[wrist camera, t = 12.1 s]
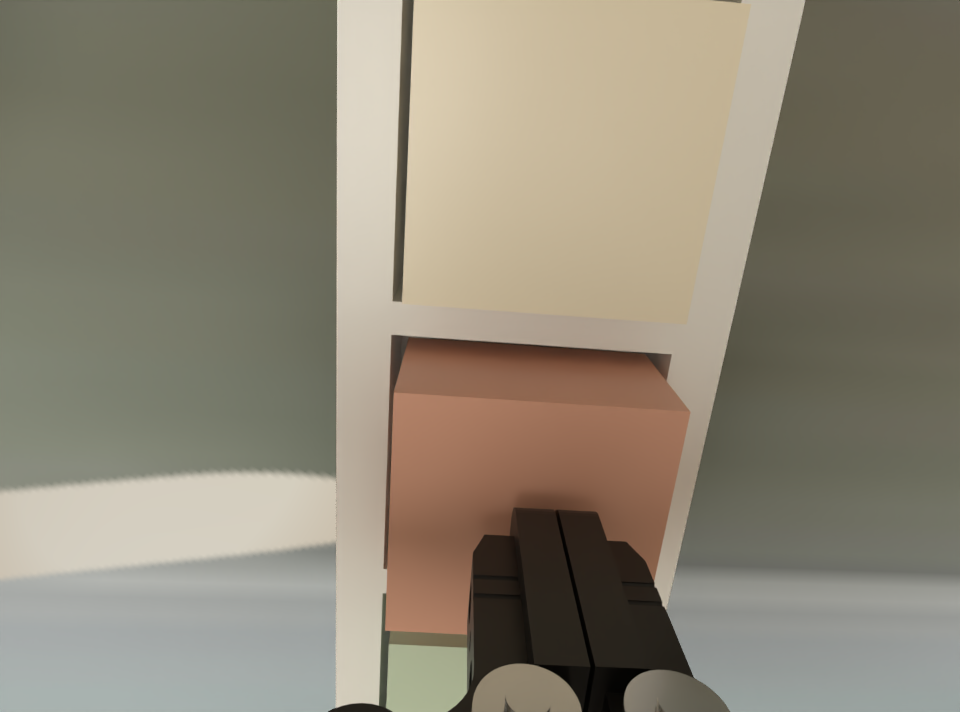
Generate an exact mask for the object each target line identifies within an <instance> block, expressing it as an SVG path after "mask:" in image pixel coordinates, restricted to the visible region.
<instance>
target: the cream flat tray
mask: <svg viewBox="0 0 960 712" xmlns="http://www.w3.org/2000/svg"><path fill="white" fill-rule="evenodd" d="M713 1H724V2H734V3H745V4H751V8H750V13H749V18H748V23H747V28H746V33H745V38H744V43H743V48H742V53H741V58H740V62H739V67H738V72H737V77H736V82H735V87H734V92H733V97H732V102H731V107H730V112H729V117H728V122H727V127H726V132H725V137H724V142H723V147H722V152H721V156H720V161H719V166H718V171H717V176H716V181H715V186H714V191H713V196H712V201H711V206H710V211H709V216H708V221H707V226H706V231H705V236H704V241H703V246H702V250H701V255H700V260H699V265H698V270H697V275H696V280H695V285H694V290H693V295H692V300H691V305H690V310H689V315H688V320H687V324H673V323H659V322H645V321H631V320H617V319H604V318H590V317H576V316H562V315H548V314H534V313H520V312H506V311H493V310H479V309H465V308H451V307H437V306H423V305H409V304H402V292H403V267H404V241H405V215H406V190H407V164H408V138H409V113H410V87H411V62H412V36H413V10H414V0H337V392H336V708H337V707H340V706H343V705H348V704H354V703H368V704H375V705H379V706H382V707H384V708H386V701H387V676H388V650H389V639H390V632H391V631H385V619H386V591H387V563H388V535H389V508H390V480H391V452H392V424H393V397H394V389H395V386H396V382H397V378H398V375H399V371H400V368H401V364H402V360H403V357H404V353H405V349H406V346H407V342H408V339H409V337H411V338H425V339H440V340H454V341H468V342H483V343H497V344H511V345H526V346H540V347H554V348H569V349H583V350H597V351H612V352H626V353H640V354H645V355H646V356H647V357H648V358H649V360H650V361H651V362H652V363H653V365H654V366H655V367H656V369H657V370H658V371H659V372H660V374H661V375H662V376H663V377H664V379H665V380H666V381H667V383H668V384H669V385H670V386H671V388H672V389H673V390H674V391H675V393H676V394H677V395H678V396H679V398H680V399H681V400H682V402H683V403H684V404H685V405H686V407H687V408H688V409H689V410H690V412H691V413H690V417H689V422H688V427H687V431H686V436H685V440H684V445H683V450H682V454H681V459H680V464H679V468H678V473H677V478H676V482H675V487H674V492H673V496H672V501H671V506H670V510H669V515H668V519H667V524H666V529H665V533H664V538H663V543H662V547H661V552H660V557H659V561H658V566H657V571H656V575H655V580H654V583H655V588H657V590H658V592H659V595H660V597H661V600H662V606H664V607H665V609H666V610H667V605H668V601H669V597H670V592H671V588H672V584H673V579H674V575H675V570H676V566H677V562H678V557H679V553H680V548H681V544H682V540H683V535H684V531H685V526H686V522H687V518H688V513H689V509H690V504H691V500H692V496H693V491H694V487H695V483H696V478H697V474H698V469H699V465H700V461H701V456H702V452H703V447H704V443H705V439H706V434H707V430H708V425H709V421H710V417H711V412H712V408H713V404H714V399H715V395H716V390H717V386H718V382H719V377H720V373H721V368H722V364H723V360H724V355H725V351H726V346H727V342H728V338H729V333H730V329H731V325H732V320H733V316H734V311H735V307H736V303H737V298H738V294H739V289H740V285H741V281H742V276H743V272H744V267H745V263H746V259H747V254H748V250H749V246H750V241H751V237H752V232H753V228H754V224H755V219H756V215H757V210H758V206H759V202H760V197H761V193H762V188H763V184H764V180H765V175H766V171H767V167H768V162H769V158H770V153H771V149H772V145H773V140H774V136H775V131H776V127H777V123H778V118H779V114H780V109H781V105H782V101H783V96H784V92H785V87H786V83H787V79H788V74H789V70H790V66H791V61H792V57H793V52H794V48H795V44H796V39H797V35H798V30H799V26H800V22H801V17H802V13H803V8H804V4H805V0H713Z"/></svg>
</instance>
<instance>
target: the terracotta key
mask: <svg viewBox="0 0 960 712" xmlns="http://www.w3.org/2000/svg"><path fill="white" fill-rule="evenodd" d="M690 413H691V412H690V410H689V409H688V408H687V407H686V405H685V404H684V403H683V402H682V400H681V399H680V398H679V396H678V395H677V394H676V393H675V391H674V390H673V389H672V388H671V386H670V385H669V384H668V383H667V381H666V380H665V379H664V377H663V376H662V375H661V374H660V372H659V371H658V370H657V369H656V367H655V366H654V365H653V363H652V362H651V361H650V360H649V358H648V357H647V356H646V355H645V354H640V353H626V352H612V351H597V350H583V349H569V348H554V347H540V346H526V345H511V344H497V343H483V342H468V341H454V340H440V339H425V338H411V337H409V339H408V342H407V346H406V349H405V353H404V357H403V360H402V364H401V368H400V371H399V375H398V378H397V382H396V386H395V389H394V397H393V424H392V452H391V480H390V508H389V535H388V563H387V591H386V619H385V631H402V632H423V633H444V634H465V635H467V618H468V606H469V593H470V581H471V569H472V557H473V552H474V550H475V548H476V547H477V545H478V544H479V542H480V541H481V539H482V538H483V536H484V534H485V535H504V536H510V527H511V517H512V511H513V508H514V507H516V508H535V509H553V510H554V511H555V510H576V511H594V512H597V513H598V515H599V518H600V521H601V523H602V526H603V529H604V532H605V535H606V538H607V541H625V542H627V543H628V544H629V545H630V546H631V547H632V548H633V549H634V550H635V551H636V552H637V553H638V554H639V555H640V556H641V557H642V558H643V559H644V560H645V561H646V563H647V566H648V568H649V571H650V573H651V575H652V578H653V580H655V575H656V571H657V566H658V561H659V557H660V552H661V547H662V543H663V538H664V533H665V529H666V524H667V519H668V515H669V510H670V506H671V501H672V496H673V492H674V487H675V482H676V478H677V473H678V468H679V464H680V459H681V454H682V450H683V445H684V440H685V436H686V431H687V427H688V422H689V417H690Z"/></svg>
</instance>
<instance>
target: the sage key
mask: <svg viewBox="0 0 960 712" xmlns="http://www.w3.org/2000/svg"><path fill="white" fill-rule="evenodd" d="M466 693H467V635H465V634H444V633H423V632H402V631H391V632H390V639H389V650H388V676H387V701H386V708H387V709H389V710H391V711H392V712H448V711H449V710H450V709H452V708H453V707H455V706H456V705H457V704H458V703H459V702H460V701H461V700H462V699H463V697H464V696H465V695H466Z"/></svg>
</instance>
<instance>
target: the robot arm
mask: <svg viewBox="0 0 960 712" xmlns="http://www.w3.org/2000/svg"><path fill="white" fill-rule="evenodd" d="M328 712H392V711H391V710H389V709H387V708H384V707H382V706H379V705H375V704H368V703H354V704H348V705H343V706H340V707H337V708H335V709H332V710H330V711H328ZM448 712H730V711H729V709H728V707H727V706H726V704H725V703H724V702H723V701H722V699H721V698H720V697H719V696H718V695H717V694H716V693H715V692H714V691H713V690H711V689H710V688H709V687H707V686H706V685H705V684H703V683H702V682H700V681H698V680H697V679H695V678H694V677H693V675H692V672H691V670H690V667H689V665H688V663H687V660H686V658H685V655H684V653H683V650H682V648H681V646H680V643H679V641H678V638H677V636H676V634H675V631H674V629H673V626H672V624H671V621H670V619H669V617H668V614H667V612H666V609H665V607H664V606H662V600H661V597H660V595H659V592H658V590H657V588H655V583H654V580H653V578H652V575H651V573H650V571H649V568H648V566H647V563H646V561H645V560H644V559H643V558H642V557H641V556H640V555H639V554H638V553H637V552H636V551H635V550H634V549H633V548H632V547H631V546H630V545H629V544H628V543H627V542H625V541H607V538H606V535H605V532H604V529H603V526H602V523H601V521H600V518H599V515H598V513H597V512H594V511H576V510H555V511H554V510H553V509H535V508H516V507H514V508H513V511H512V517H511V527H510V536H504V535H485V534H484V536H483V538H482V539H481V541H480V542H479V544H478V545H477V547H476V548H475V550H474V552H473V557H472V569H471V581H470V593H469V606H468V618H467V693H466V695H465V696H464V697H463V699H462V700H461V701H460V702H459V703H458V704H457V705H456V706H455V707H453V708H452V709H450V710H449V711H448Z"/></svg>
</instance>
